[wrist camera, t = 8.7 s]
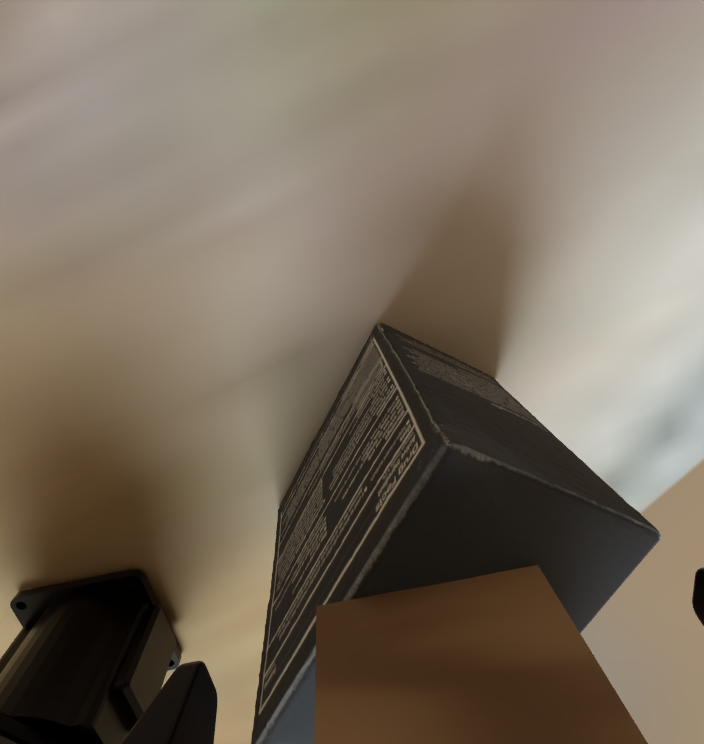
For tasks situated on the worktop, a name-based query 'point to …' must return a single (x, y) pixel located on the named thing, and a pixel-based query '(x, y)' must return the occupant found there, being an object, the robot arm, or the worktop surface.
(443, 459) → the small box
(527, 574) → the walnut cube
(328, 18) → the worktop surface
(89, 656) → the robot arm
